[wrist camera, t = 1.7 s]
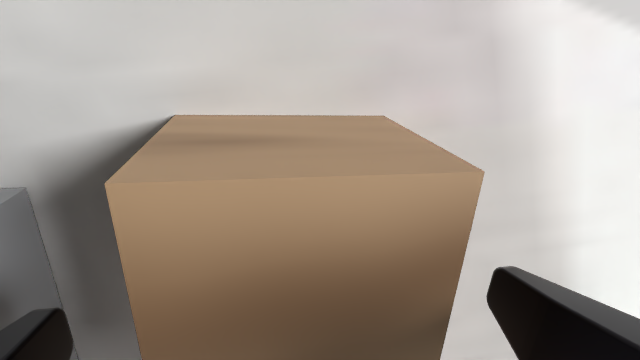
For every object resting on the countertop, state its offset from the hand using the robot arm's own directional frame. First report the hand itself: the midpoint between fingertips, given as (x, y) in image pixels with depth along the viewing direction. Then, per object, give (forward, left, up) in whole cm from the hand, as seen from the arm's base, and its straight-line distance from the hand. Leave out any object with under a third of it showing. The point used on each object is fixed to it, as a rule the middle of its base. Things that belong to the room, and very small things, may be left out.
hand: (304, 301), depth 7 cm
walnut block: (0, 0, -4) cm, 4 cm away
